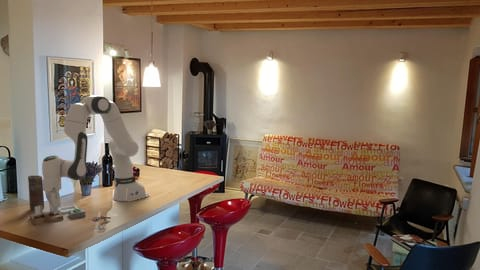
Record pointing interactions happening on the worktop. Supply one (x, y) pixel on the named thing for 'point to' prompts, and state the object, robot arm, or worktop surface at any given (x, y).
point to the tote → (66, 209)
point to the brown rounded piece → (35, 192)
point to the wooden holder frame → (46, 218)
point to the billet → (52, 211)
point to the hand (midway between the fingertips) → (53, 211)
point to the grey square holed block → (76, 213)
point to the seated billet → (38, 212)
